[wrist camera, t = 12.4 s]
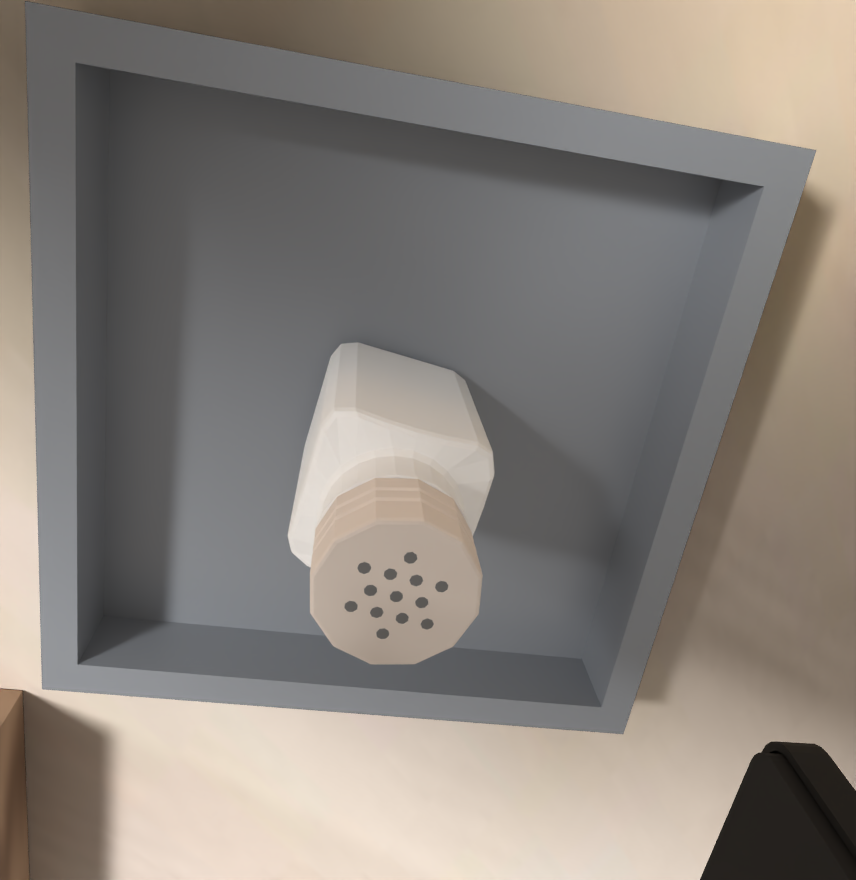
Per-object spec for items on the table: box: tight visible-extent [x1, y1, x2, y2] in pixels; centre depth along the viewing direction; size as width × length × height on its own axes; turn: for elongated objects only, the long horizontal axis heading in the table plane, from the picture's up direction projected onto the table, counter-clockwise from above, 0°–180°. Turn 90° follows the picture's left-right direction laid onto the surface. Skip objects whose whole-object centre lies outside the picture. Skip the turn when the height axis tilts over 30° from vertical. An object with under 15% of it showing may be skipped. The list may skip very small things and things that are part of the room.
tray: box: [25, 1, 816, 734], centre depth 22 cm, size 18×18×3 cm
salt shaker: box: [288, 342, 495, 664], centre depth 18 cm, size 4×4×10 cm
